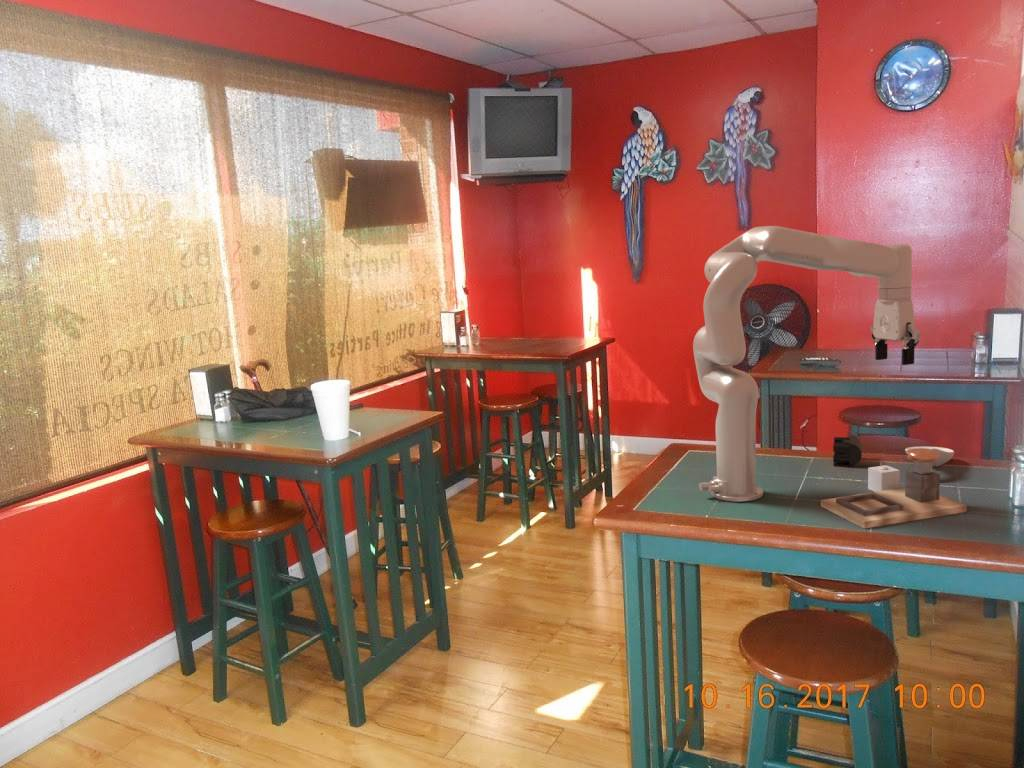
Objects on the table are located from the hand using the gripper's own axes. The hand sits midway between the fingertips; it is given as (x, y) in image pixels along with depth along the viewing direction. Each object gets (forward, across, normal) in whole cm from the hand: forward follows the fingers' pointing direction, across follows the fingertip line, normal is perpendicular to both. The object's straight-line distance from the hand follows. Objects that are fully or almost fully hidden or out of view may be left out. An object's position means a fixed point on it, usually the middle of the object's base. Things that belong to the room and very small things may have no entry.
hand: (894, 361), depth 207 cm
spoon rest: (+30, +1, +10) cm, 32 cm away
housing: (+30, +10, -11) cm, 33 cm away
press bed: (+29, +22, -19) cm, 42 cm away
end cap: (+30, -14, -4) cm, 33 cm away
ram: (+24, +22, -10) cm, 34 cm away
